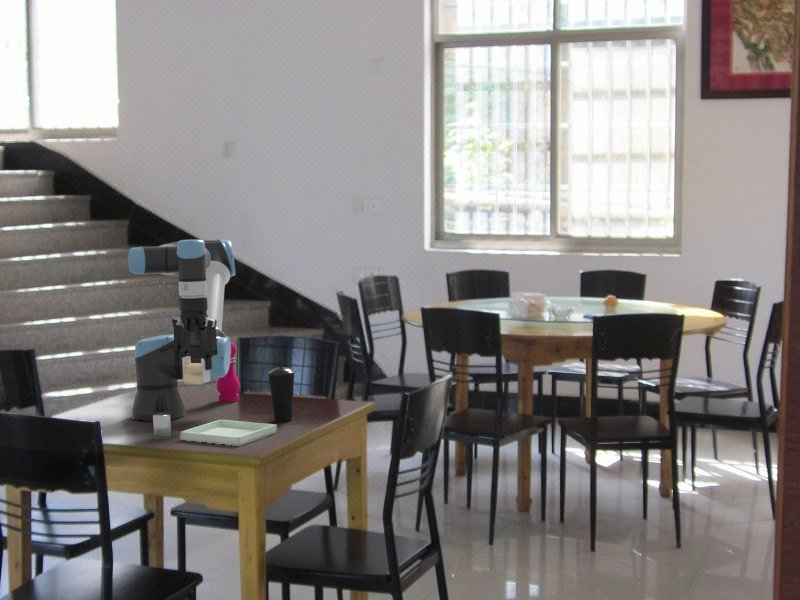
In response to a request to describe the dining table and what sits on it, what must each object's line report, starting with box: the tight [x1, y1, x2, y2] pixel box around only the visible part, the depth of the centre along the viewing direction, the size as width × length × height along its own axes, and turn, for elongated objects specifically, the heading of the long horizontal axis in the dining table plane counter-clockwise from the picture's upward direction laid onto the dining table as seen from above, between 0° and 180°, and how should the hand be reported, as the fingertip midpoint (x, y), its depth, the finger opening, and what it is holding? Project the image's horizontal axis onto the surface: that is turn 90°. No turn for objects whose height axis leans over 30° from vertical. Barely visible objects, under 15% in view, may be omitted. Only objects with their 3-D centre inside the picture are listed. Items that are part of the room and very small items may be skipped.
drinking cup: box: [267, 348, 296, 423], centre depth 304 cm, size 8×8×20 cm
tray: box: [179, 419, 278, 447], centre depth 284 cm, size 19×17×2 cm
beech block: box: [183, 363, 207, 385], centre depth 297 cm, size 5×5×5 cm
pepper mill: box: [216, 336, 241, 403], centre depth 336 cm, size 7×7×20 cm
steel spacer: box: [152, 413, 172, 440], centre depth 285 cm, size 4×4×6 cm
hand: (196, 380), depth 297 cm, fingers closed on beech block, 6 cm apart
